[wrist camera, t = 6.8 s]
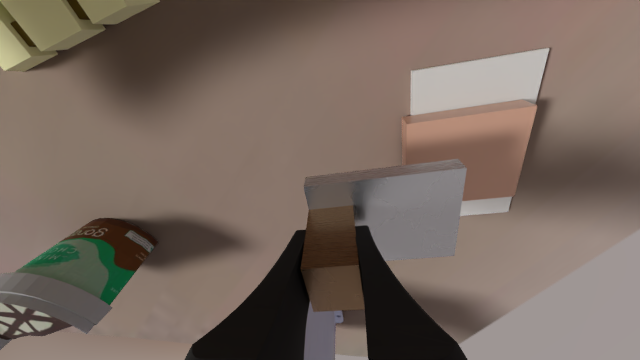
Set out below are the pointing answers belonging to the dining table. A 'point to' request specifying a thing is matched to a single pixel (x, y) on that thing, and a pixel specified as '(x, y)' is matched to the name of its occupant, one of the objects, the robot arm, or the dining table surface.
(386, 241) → the turner
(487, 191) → the tile
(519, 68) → the mat
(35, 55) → the slatted curved stool
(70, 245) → the food container
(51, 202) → the dining table surface
